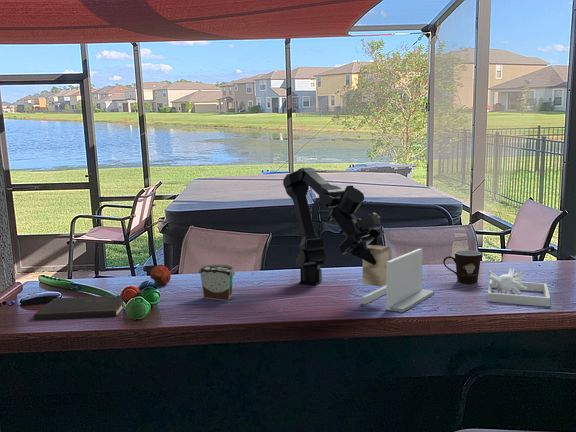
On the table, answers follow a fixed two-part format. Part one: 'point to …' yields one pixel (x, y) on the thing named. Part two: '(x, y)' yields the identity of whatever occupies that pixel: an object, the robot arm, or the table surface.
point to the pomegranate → (160, 275)
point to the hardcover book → (80, 308)
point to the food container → (217, 281)
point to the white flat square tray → (522, 298)
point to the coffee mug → (466, 266)
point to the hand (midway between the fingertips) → (379, 262)
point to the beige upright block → (376, 266)
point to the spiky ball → (507, 281)
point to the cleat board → (402, 283)
